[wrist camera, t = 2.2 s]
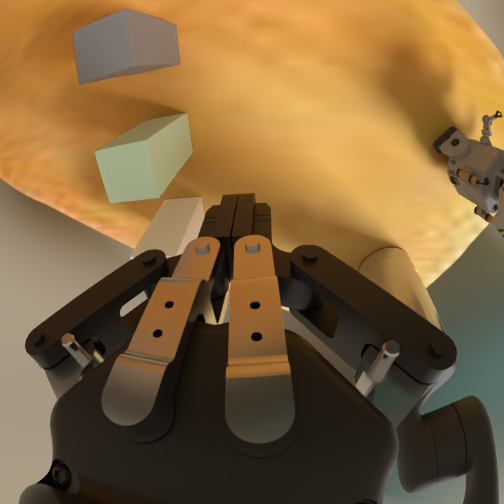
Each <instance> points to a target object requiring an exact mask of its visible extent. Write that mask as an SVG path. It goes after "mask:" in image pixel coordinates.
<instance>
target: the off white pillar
mask: <svg viewBox="0 0 504 504" xmlns="http://www.w3.org/2000/svg"><path fill="white" fill-rule="evenodd" d="M204 217H205V215H204V210H203V204H202V199H201V197H191V198H179V199H168V200H164V202H163V204H162V205H161V207H160V208H159V210H158V211H157V213H156V214H155V216H154V218H153V219H152V221H151V222H150V224H149V226H148V227H147V229H146V231H145V232H144V234H143V236H142V237H141V239H140V241H139V242H138V244H137V246H136V247H135V249H134V251H133V253H132V254H131V256H130V259H131V260H132V259H133V258H135V257H136V256H138V255H139V254H141V253H143V252H145V251H147V250H152V249H158V250H162V251H163V252H164V253H165V255H166V258H169V257H173V256H177V255H180V254H183V252H184V250H185V248H186V246H187V244H188V243H189V242H191V241H192V240H194V239H197V237H198V234H199V231H200V228H201V226H202V224H203V220H204Z"/></svg>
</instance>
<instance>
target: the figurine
mask: <svg viewBox="0 0 504 504" xmlns="http://www.w3.org/2000/svg"><path fill="white" fill-rule="evenodd" d="M498 113H500V114H501V112H499V111H497V112H496V114H495V115H494V116H491V117H489V116H488V115H484V116H483V118H482V120H483V123H484V125H483V128H484V129H482V135H483V136H482V137H481V138H480V142H479V141H476V140H473V139H467V138H466V137H465V136H464V135H463V134H462V133H461V132H459V131H458V130H457V129H456V128H455V127H454V126H452V127H450V128H449V129H448V131H446V132H445V134H444V135H443V136H442V137H439V140H437V141H435V143H434V144H433V146H434V147H435V149H436V151H437V152H439V153H441V154H442V153H444V154H445V155H447V156H449V164H448V175H449V179H450V181H451V183H452V184H454V186H455V188H456V190H457V192H458V194H460V195H461V196H463V197H465V198H466V199H468V200H470V201H471V202H473V203H475V204H476V205H477V206H476V207H475V209H474V213H475V214H476V215H479V216H480V217H482V218H483V219H485V221H487V222H489V223H490V224H494V226H495V227H496V228H497V229H498V231H499V232H500V233H501V234H502V236H503V237H504V150H501V149H498V148H496V147H493V146H492V144H491V142H490V140H489V136H491V130H490V126H491V124H492V121H493V120H495V118H497V117H502V114H501V115H498ZM487 212H489V213H496V215H495V216H494V217H493V216H491V215H490V214H489V213H487Z"/></svg>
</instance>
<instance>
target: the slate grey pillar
mask: <svg viewBox="0 0 504 504" xmlns="http://www.w3.org/2000/svg"><path fill="white" fill-rule="evenodd" d="M73 39H74V49H75V58H76V66H77V73H78V79H79V85H82V84H86V83H90V82H95V81H99V80H104V79H109V78H115V77H120V76H126V75H133V74H139V73H143V72H147V71H151V70H155V69H159V68H164V67H168V66H173V65H178V64H180V57H179V48H178V39H177V29H176V25H175V24H172V23H169V22H167V21H164V20H161V19H158V18H156V17H153V16H150V15H147V14H144V13H140V12H137V11H134V10H130V9H124V10H121V11H119V12H116V13H114V14H111V15H109V16H106V17H104V18H101V19H99V20H97V21H95V22H92V23H90V24H88V25H86V26H84V27H82V28H80V29H78V30H76V31H74V32H73Z"/></svg>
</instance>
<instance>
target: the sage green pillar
mask: <svg viewBox="0 0 504 504" xmlns="http://www.w3.org/2000/svg"><path fill="white" fill-rule="evenodd" d="M94 153H95V156H96V160H97V164H98V167H99V171H100V174H101V177H102V181H103V184H104V187H105V190H106V194H107V197H108V200H109V203H110V204H112V203H120V202H128V201H136V200H145V199H155V198H160V197H161V195H162V194H163V192H164V191H165V189H166V188H167V187H168V185H169V184H170V183H171V181H172V180H173V178H174V177H175V176H176V174H177V173H178V172H179V170H180V169H181V168H182V166H183V165H184V164H185V162H186V161H187V160H188V159H189V157H190V156H191V155H192V153H193V148H192V142H191V135H190V129H189V122H188V115H187V113H182V114H175V115H170V116H164V117H159V118H154V119H149V120H146V121H144V122H142V123H141V124H139V125H137V126H135V127H133V128H132V129H130V130H128V131H127V132H125V133H123V134H121V135H120V136H118V137H116V138H115V139H113V140H112V141H110V142H108V143H107V144H105V145H104V146H102V147H101V148H99V149H97V150H96V151H94Z"/></svg>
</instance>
